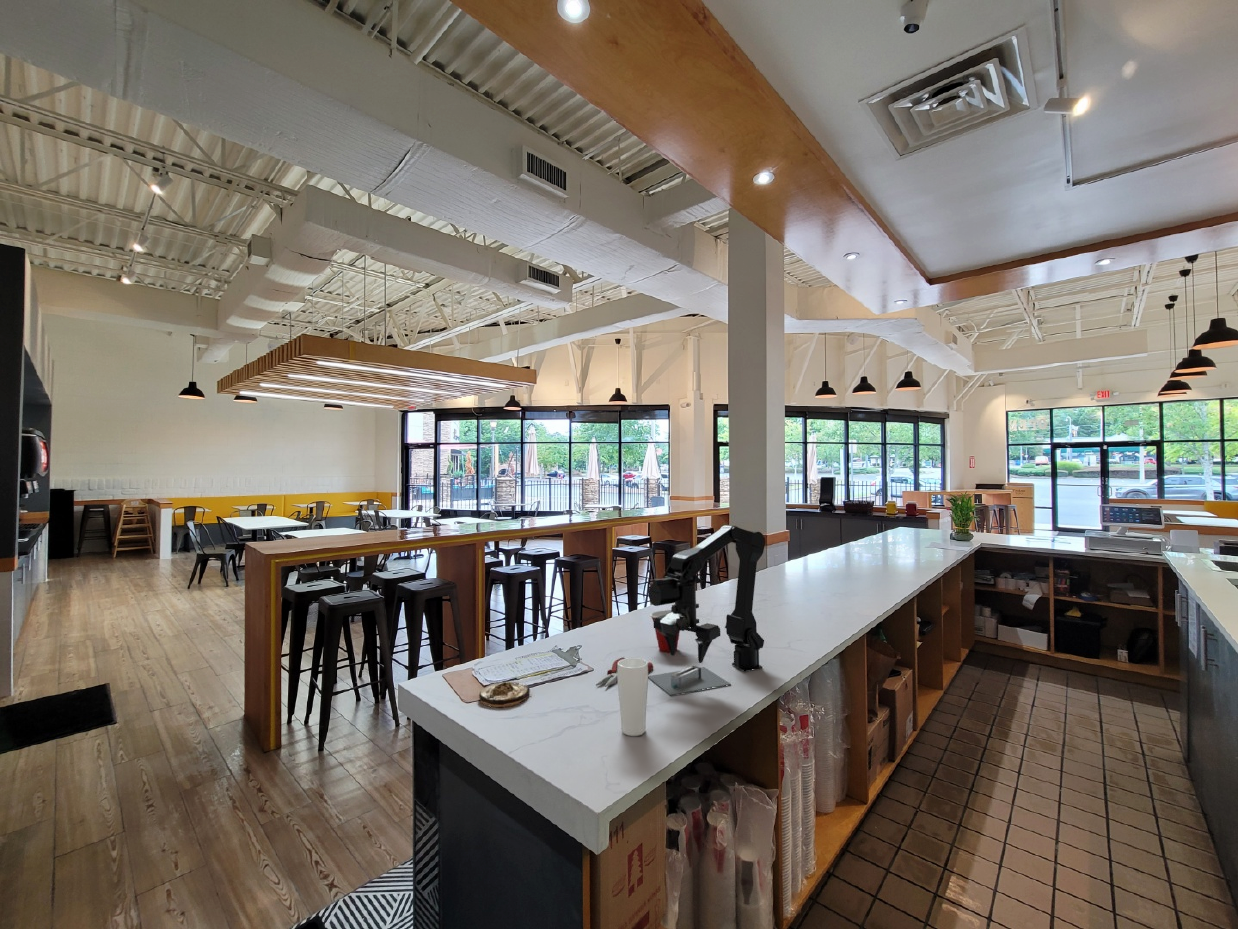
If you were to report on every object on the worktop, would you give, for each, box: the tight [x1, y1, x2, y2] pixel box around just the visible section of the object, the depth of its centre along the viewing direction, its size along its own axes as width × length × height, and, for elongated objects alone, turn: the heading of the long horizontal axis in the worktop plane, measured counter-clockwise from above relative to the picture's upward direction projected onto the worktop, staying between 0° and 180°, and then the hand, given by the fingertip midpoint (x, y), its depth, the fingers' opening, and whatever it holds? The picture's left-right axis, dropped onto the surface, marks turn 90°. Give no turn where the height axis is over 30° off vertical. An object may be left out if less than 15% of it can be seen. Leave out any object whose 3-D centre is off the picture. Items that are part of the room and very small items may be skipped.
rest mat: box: [648, 666, 732, 697], centre depth 147 cm, size 18×14×1 cm
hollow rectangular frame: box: [671, 665, 701, 688], centre depth 145 cm, size 3×3×11 cm
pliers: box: [595, 656, 654, 688], centre depth 152 cm, size 12×20×3 cm, turn 149°
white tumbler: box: [617, 657, 649, 737], centre depth 118 cm, size 7×7×15 cm
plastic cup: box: [649, 609, 681, 653], centre depth 175 cm, size 11×11×12 cm
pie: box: [478, 680, 532, 709], centre depth 138 cm, size 15×15×4 cm
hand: (686, 658), depth 146 cm, fingers open, 9 cm apart
